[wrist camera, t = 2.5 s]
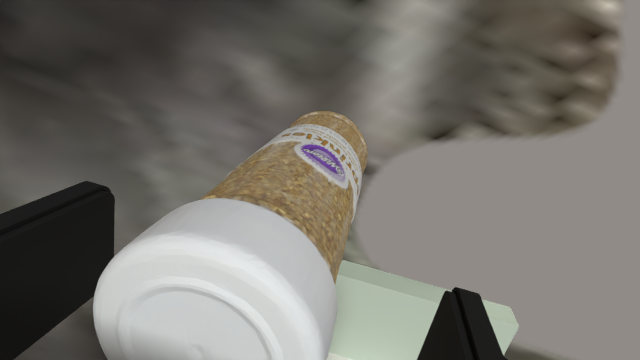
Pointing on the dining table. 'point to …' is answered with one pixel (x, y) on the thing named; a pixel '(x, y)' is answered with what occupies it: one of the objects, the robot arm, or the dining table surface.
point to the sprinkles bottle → (242, 258)
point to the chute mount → (393, 315)
